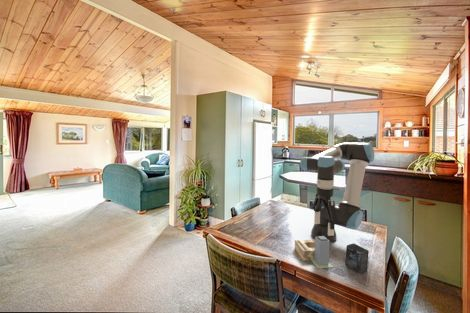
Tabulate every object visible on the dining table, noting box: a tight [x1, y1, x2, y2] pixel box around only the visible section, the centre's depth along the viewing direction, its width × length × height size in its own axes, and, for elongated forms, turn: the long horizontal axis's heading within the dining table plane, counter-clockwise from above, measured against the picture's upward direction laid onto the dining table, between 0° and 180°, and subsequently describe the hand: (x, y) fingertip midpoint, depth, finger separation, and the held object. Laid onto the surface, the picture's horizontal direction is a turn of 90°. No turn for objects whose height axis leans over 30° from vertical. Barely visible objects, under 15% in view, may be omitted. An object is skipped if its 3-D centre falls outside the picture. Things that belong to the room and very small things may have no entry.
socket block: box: [294, 239, 315, 261], centre depth 119 cm, size 14×12×5 cm
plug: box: [314, 236, 330, 266], centre depth 110 cm, size 5×5×13 cm
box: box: [345, 242, 369, 274], centre depth 106 cm, size 8×6×11 cm
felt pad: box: [310, 259, 334, 269], centre depth 110 cm, size 8×8×1 cm
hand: (323, 229), depth 109 cm, fingers open, 13 cm apart
